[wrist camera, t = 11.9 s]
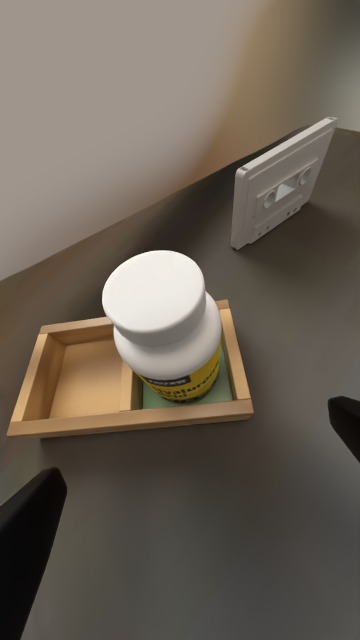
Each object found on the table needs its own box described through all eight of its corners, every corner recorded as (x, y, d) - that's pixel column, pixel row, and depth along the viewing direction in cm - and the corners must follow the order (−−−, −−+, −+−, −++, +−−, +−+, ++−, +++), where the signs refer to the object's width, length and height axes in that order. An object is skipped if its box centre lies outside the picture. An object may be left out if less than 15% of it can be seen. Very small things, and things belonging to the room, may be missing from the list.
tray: (248, 419, 14) (254, 413, 12) (39, 438, 16) (5, 436, 13) (226, 319, 19) (227, 299, 16) (63, 341, 20) (41, 325, 18)
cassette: (239, 253, 23) (247, 175, 16) (226, 245, 24) (230, 168, 17) (312, 202, 25) (345, 117, 19) (298, 197, 26) (325, 114, 20)
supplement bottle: (161, 418, 15) (89, 377, 6) (142, 351, 18) (75, 264, 9) (232, 387, 15) (252, 312, 7) (202, 327, 18) (189, 222, 10)
